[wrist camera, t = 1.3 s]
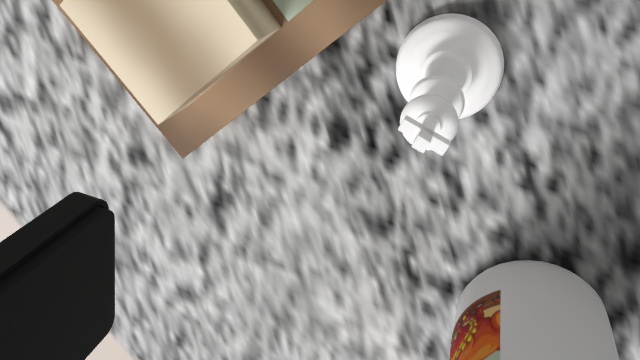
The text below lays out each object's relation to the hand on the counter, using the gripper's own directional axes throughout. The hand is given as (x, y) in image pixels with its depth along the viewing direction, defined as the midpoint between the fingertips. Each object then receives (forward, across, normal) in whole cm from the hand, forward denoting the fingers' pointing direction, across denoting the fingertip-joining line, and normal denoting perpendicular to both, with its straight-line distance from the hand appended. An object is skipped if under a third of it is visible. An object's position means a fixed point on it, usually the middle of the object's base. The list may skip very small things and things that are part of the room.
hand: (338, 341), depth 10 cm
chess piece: (+19, 0, 0) cm, 19 cm away
